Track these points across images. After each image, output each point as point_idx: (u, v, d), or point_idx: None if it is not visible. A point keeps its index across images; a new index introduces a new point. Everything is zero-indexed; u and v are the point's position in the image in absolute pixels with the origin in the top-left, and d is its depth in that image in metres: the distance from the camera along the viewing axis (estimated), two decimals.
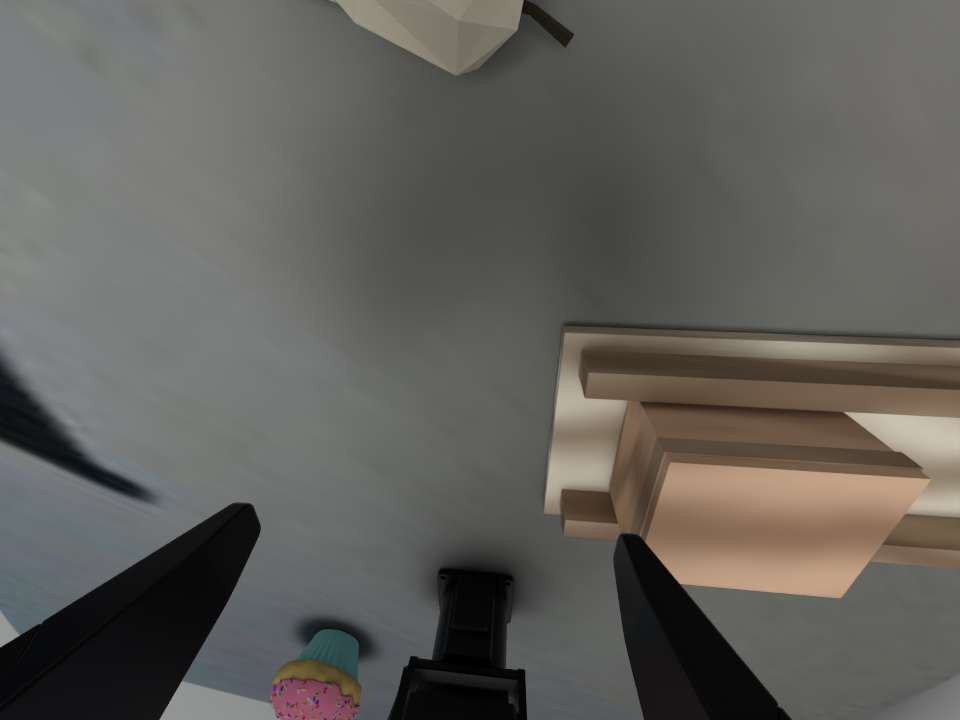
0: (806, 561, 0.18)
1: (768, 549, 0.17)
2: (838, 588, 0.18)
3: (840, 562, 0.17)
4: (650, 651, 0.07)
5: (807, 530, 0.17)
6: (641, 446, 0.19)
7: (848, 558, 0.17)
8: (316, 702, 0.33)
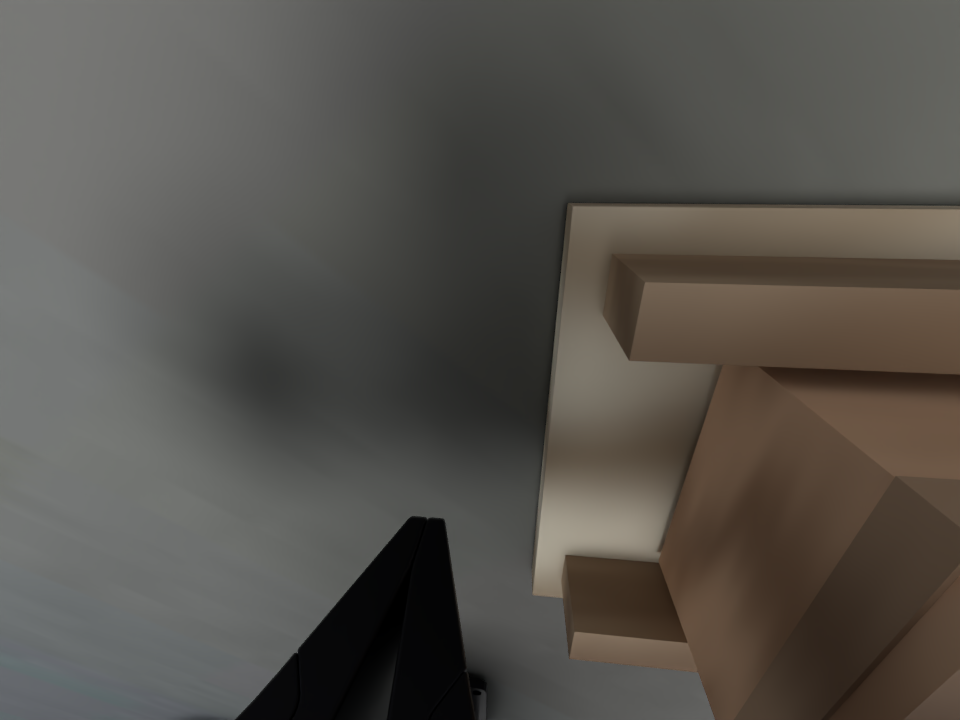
0: None
1: None
2: None
3: None
4: None
5: None
6: (783, 491, 0.07)
7: None
8: None
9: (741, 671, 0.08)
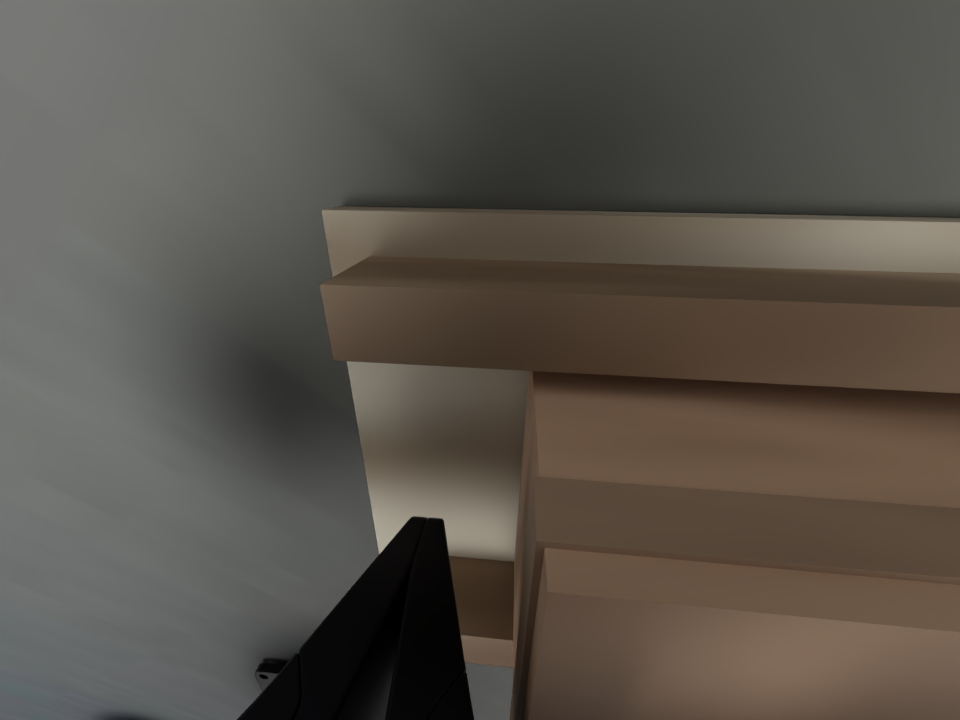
0: None
1: None
2: None
3: None
4: None
5: None
6: (529, 491, 0.07)
7: None
8: None
9: None
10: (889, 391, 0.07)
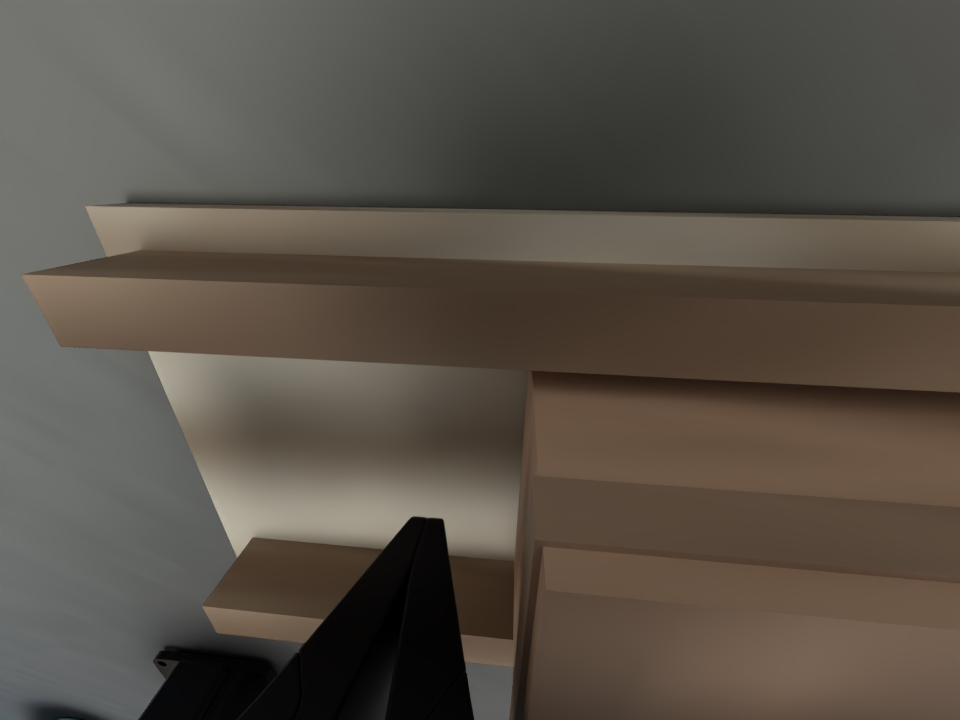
0: None
1: None
2: None
3: None
4: None
5: None
6: (528, 491, 0.07)
7: None
8: None
9: None
10: (888, 390, 0.07)
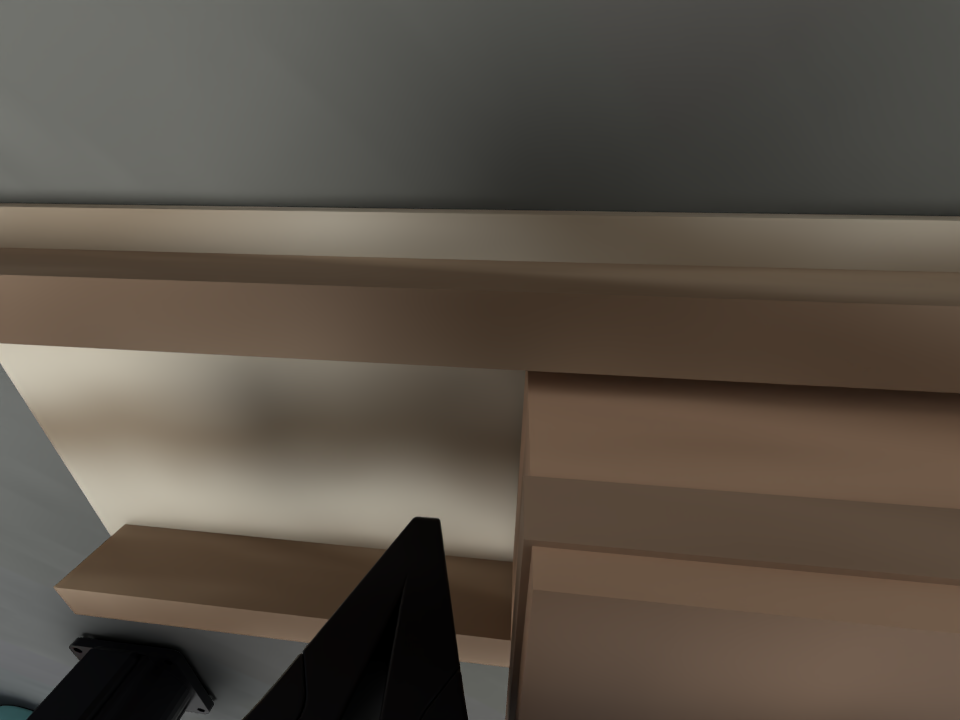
0: None
1: None
2: None
3: None
4: None
5: None
6: None
7: None
8: None
9: None
10: (887, 391, 0.07)
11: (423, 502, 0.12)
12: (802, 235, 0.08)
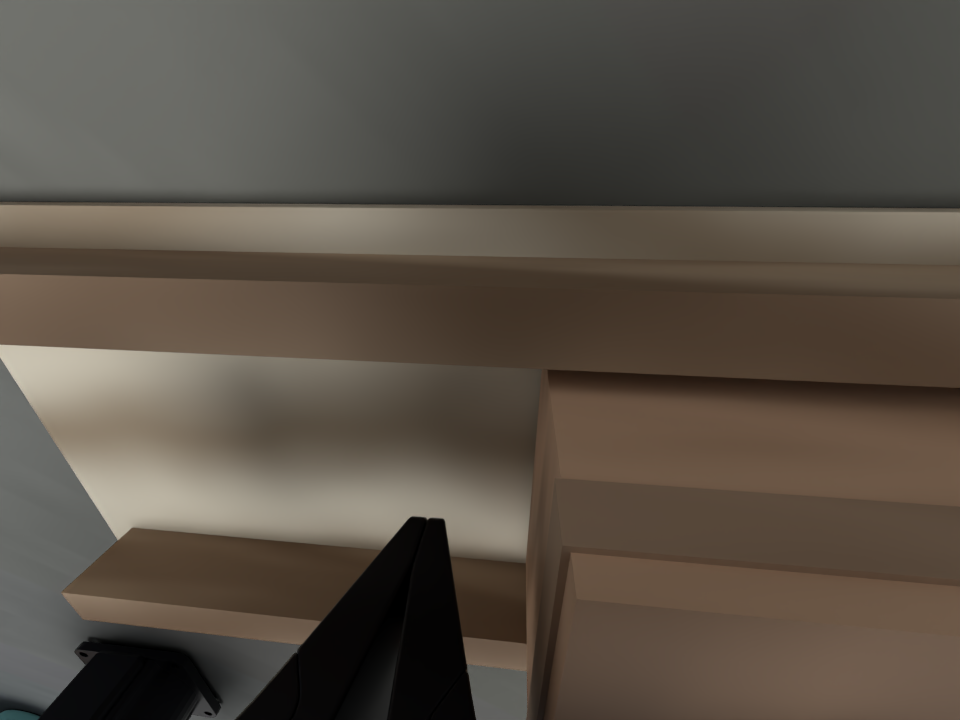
0: None
1: None
2: None
3: None
4: None
5: None
6: (545, 492, 0.07)
7: None
8: None
9: None
10: (917, 388, 0.07)
11: (436, 504, 0.12)
12: (830, 229, 0.08)
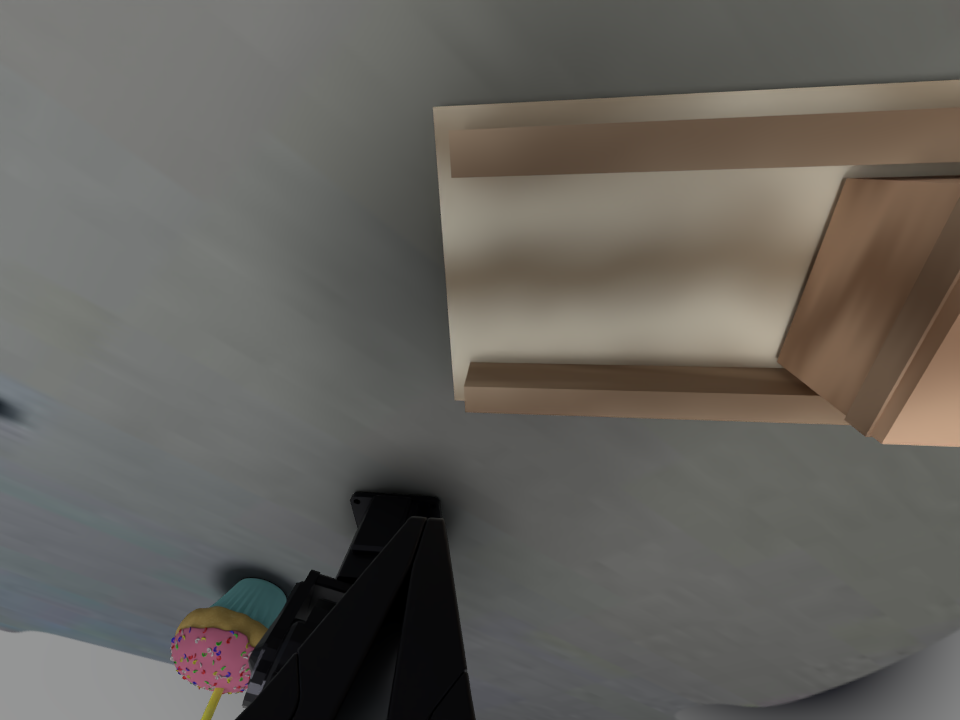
0: None
1: None
2: None
3: None
4: None
5: None
6: (894, 237, 0.13)
7: None
8: (218, 654, 0.28)
9: (862, 362, 0.14)
10: None
11: (719, 319, 0.18)
12: None
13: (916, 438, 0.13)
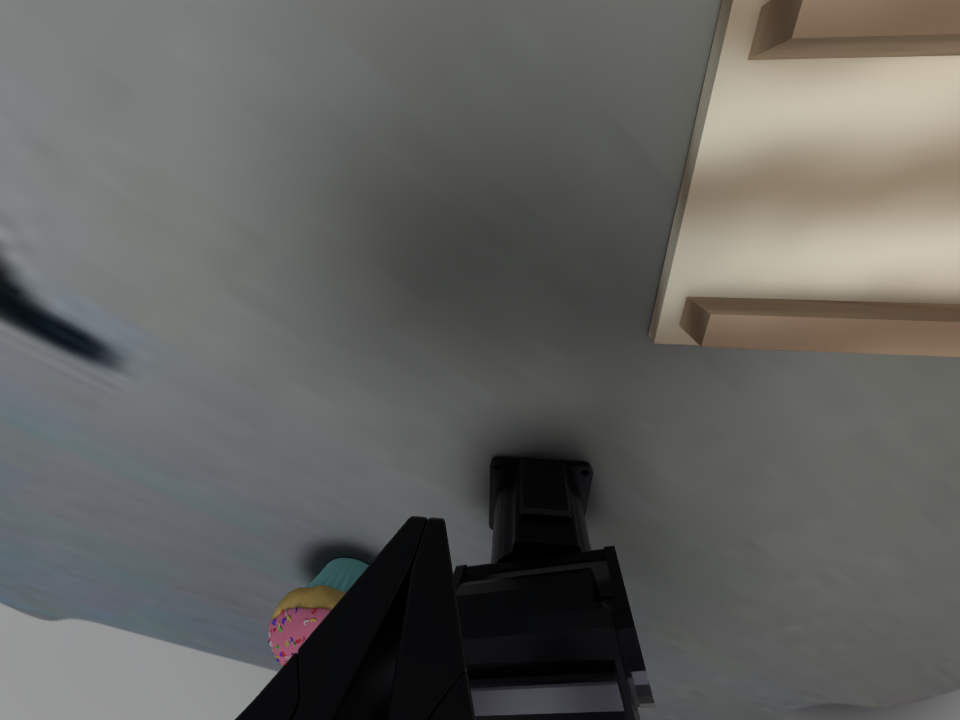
0: None
1: None
2: None
3: None
4: None
5: None
6: None
7: None
8: None
9: None
10: None
11: None
12: None
13: None
